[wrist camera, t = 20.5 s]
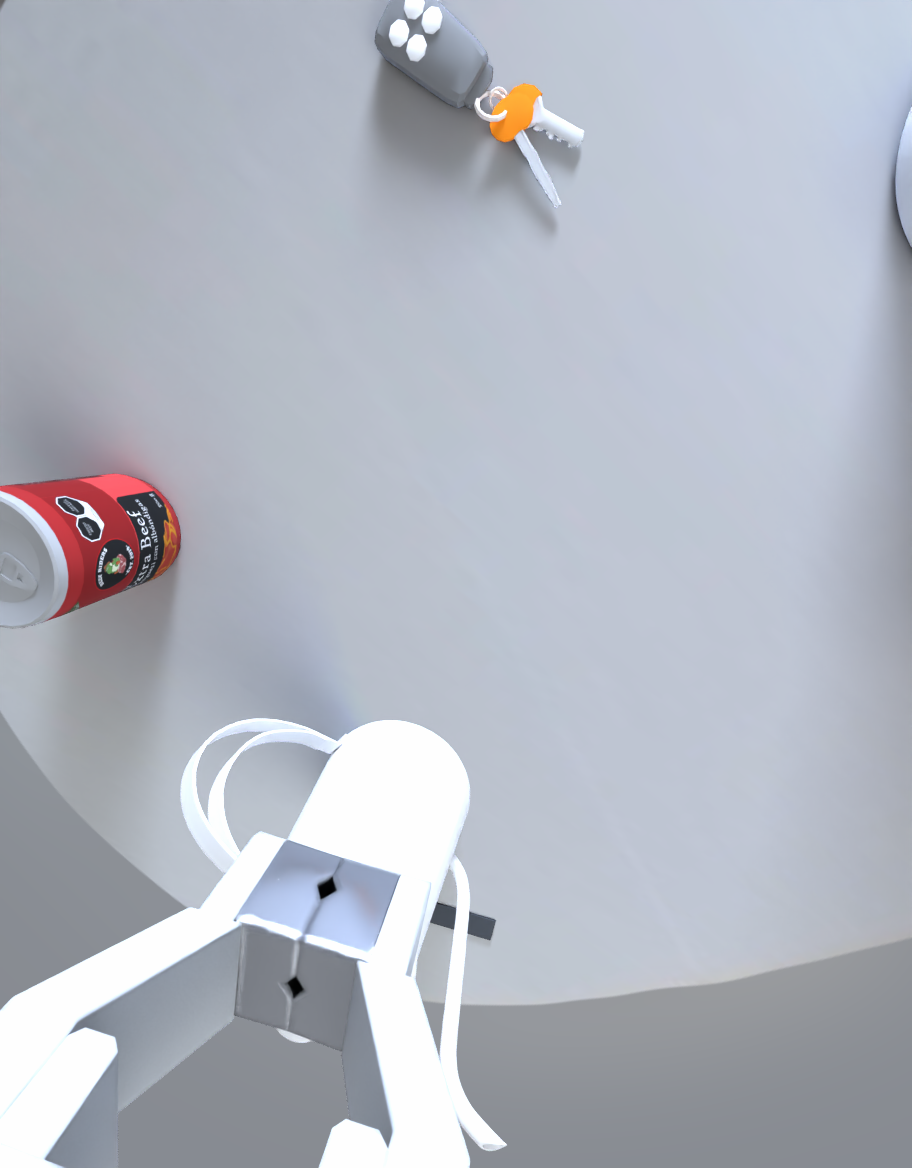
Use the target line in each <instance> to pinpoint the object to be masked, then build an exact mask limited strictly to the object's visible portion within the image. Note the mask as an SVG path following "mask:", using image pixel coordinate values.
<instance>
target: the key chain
mask: <svg viewBox="0 0 912 1168" xmlns="http://www.w3.org/2000/svg"><path fill="white" fill-rule="evenodd" d="M375 44H376V46H377V49H378V50H379V51H380V53H381V54H382V55H383V56H384V58H385V59H386V60H387V61H388V62H390V63H391V64H392V65H394V66H395V67H397V68H398V69H399V70H401V71H402V72H404V73H405V74H406V75H408V76H409V77H410V78H412V79H413V80H415V81H416V82H417V83H419V84H420V85H422V86H423V87H425V88H426V89H427V90H429V91H430V92H432V93H433V94H434V95H436V96H437V97H439V98H440V99H442V100H443V101H444V102H446V103H447V104H450V105H452V106H454V107H456V108H460V107H462V106H464V105H465V106H467V107H468V108H469V109H471V108H473V107H475V109H476V112H477V114H478V115H479V116H480V117H481V118H482V119H483V120H486V121H488V122H490V129H491V133H492V135H493V136H494V137H495V138H496V139H497V140H498V141H501V142H508V141H512V140H513V139H515V141H516V142H517V144H518V146H519V148H520V150H521V152H522V153H523V155H524V157H526V158H527V160H528V162H529V164H530V165H529V166H530V168H531V170H532V172H533V173H534V175H535V177H536V179H537V181H538V180H539V182H540V184H541V186H542V188H543V189H544V191H545V193H546V194H547V196H548V197H549V199H550V200H551V202H552V204H553V205H554V207H555V208H557V207H558V206H560V205H561V204H562V203H561V201H560V199H559V197H558V194H557V192H556V190H555V188H554V186H553V184H552V183H553V181H552V179H551V177H550V176H549V174H548V173H547V172H546V171H545V169H544V167H543V165H542V163H541V161H540V159H539V155H538V153H537V152H536V150H535V148H533V146H532V145H531V143H530V141H529V139H528V137H527V135H526V134H525V129H528V128H530V127H533V126H535V127H534V129H533V130H534V131H536V132H537V131H538V130H539V131H540V132H542V130H543V129H544V130H546V133H545V134H546V135H548V136H549V137H548V138H549V139H550V140H552V139H553V137H554V135H555V136H557V139H556V141H558V142H561V140H564V141H565V142H567V143H569V144H568V146H567V147H569V148H572V146H574V147H577V146H578V145H579V144H580V143H581V142H582V141H583V135H584V131H583V130H581V129H579V128H577V127H575V126H574V125H572V124H570V123H568V122H567V121H565V120H563V119H561V118H560V117H558V116H556V115H554V114H553V113H551V112H549V111H547V110H545V109H544V108H543V103H542V99H541V96H542V93H541V92H540V91H539V90H538V89H537V88H536V87H535V86H534V85H529V84H522V85H519V86H517V87H515V88H513V90H512V91H511V92H510V94H509V95H508V94H507V92H506V91H505V89H503V88H502V87H496V88H494V89H493V90H487V89H488V87H489V85H490V84H491V82H492V77H493V68H492V66H490V65H489V64H488V56H487V52H486V51H485V49H484V48H483V46H482V45H481V44H480V42H479V41H478V40H477V39H476V38H475V37H474V36H473V35H472V34H471V33H470V32H469V31H468V30H467V29H466V28H465V27H464V26H463V25H462V24H461V23H460V22H459V21H458V20H457V19H456V18H455V17H454V16H453V15H452V14H451V13H450V12H449V11H448V10H447V9H446V8H445V7H444V6H442V5H441V4H440V3H439V2H438V1H437V0H390V2H389V4H388V5H387V7H386V9H385V11H384V14H383V16H382V18H381V20H380V22H379V24H378V27H377V30H376V35H375ZM498 91H501V92H503V93H504V95H505V96H504V95H503V94H502V93H500V92H498ZM486 97H489V105H490V108H491V109H492V111H493V113H492V115H488V114H485V113H484V112H483V111H482V110H481V109H480V107H479V105H480V101H481V100H482V99H483V98H486ZM492 97H495V98H498V99H500V100H501V101H500V102H499V103H498V104H497V105H496V107H495V108H494V106H493V105H492Z"/></svg>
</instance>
